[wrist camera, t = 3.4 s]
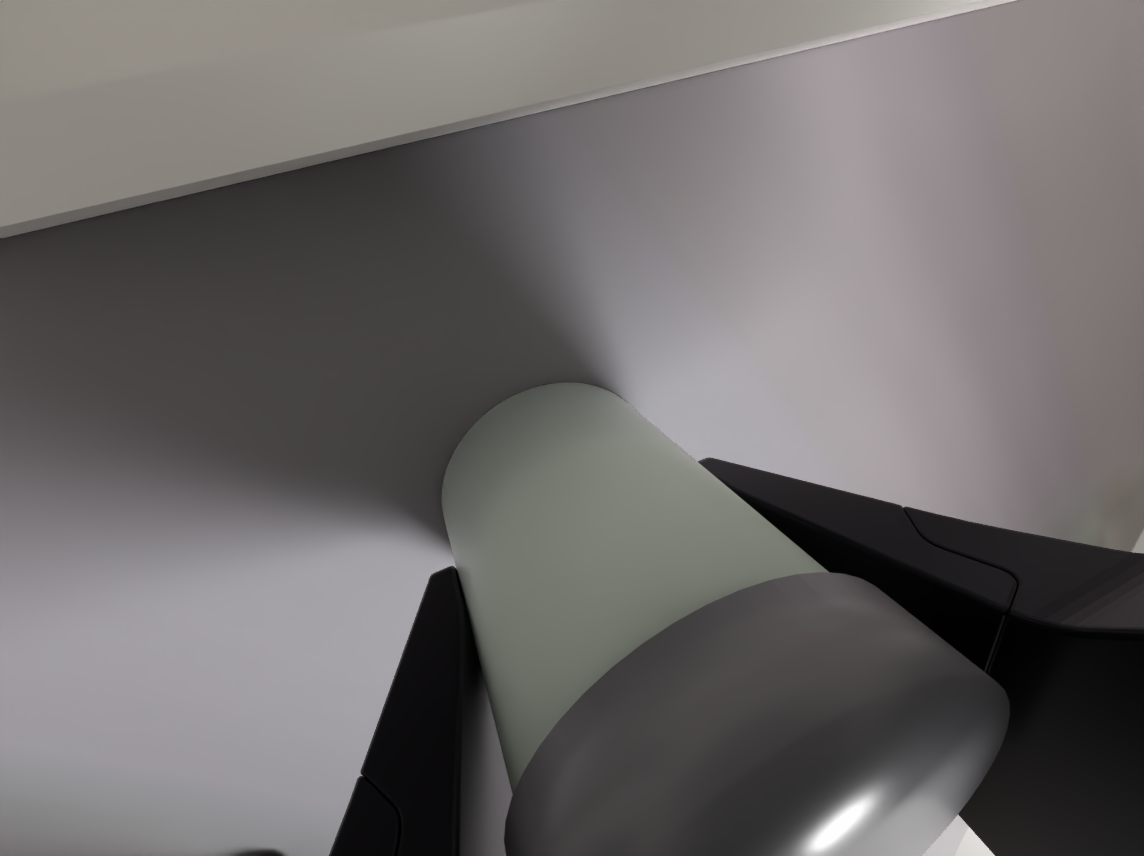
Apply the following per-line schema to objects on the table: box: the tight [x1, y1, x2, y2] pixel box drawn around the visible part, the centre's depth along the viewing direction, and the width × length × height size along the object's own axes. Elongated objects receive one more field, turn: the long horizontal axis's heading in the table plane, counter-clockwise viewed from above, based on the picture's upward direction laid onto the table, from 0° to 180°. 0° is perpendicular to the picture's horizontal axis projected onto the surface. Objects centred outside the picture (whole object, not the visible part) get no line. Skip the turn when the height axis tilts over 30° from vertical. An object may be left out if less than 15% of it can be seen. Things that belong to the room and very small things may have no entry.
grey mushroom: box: [442, 382, 1010, 856], centre depth 8 cm, size 5×5×7 cm
